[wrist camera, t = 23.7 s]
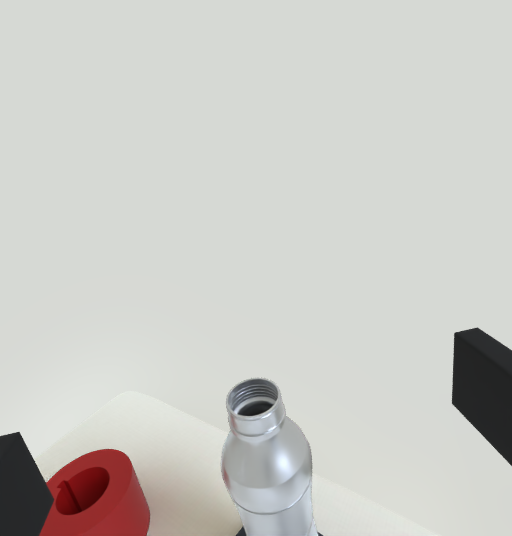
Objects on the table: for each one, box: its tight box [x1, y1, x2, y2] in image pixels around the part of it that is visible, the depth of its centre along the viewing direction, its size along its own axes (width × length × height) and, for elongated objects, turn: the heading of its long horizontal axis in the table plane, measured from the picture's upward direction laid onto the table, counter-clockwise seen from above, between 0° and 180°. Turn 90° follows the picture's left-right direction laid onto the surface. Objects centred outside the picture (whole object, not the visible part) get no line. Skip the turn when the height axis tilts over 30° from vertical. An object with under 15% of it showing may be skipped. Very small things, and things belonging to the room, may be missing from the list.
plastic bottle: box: [221, 378, 319, 536], centre depth 26 cm, size 6×7×20 cm
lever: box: [39, 449, 150, 536], centre depth 37 cm, size 18×9×7 cm, turn 72°
